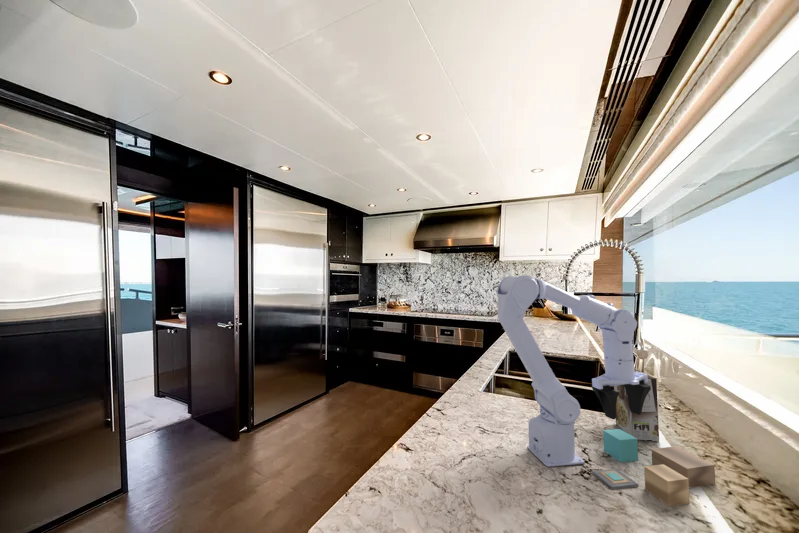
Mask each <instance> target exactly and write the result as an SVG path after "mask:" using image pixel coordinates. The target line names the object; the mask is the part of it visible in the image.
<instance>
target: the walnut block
mask: <svg viewBox="0 0 799 533" xmlns="http://www.w3.org/2000/svg"><path fill="white" fill-rule="evenodd" d="M661 464H664V465H666V466H667V467H669V468H671V469H672V470H674V471H676V472H677V473H679V474H681V475H683V476H684V477H686V478H688V481H689V489H690V488H697V487H702V486H708V485H709V486H710V485H714V484H715V485H716V473H715V472H716V468H715V467H716V466H715V464H714V463H712V462H710V461H708V460H706V459H704V458H702V457H700V456H698V455H695V454H693V453H692V452H690V451H687V450H685V449H683V448H681V447H679V446H677V445H674V446H667V447H657V448H652V449H651V466H652V465H661Z"/></svg>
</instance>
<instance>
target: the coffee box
mask: <svg viewBox="0 0 799 533" xmlns="http://www.w3.org/2000/svg"><path fill="white" fill-rule="evenodd" d="M634 372H641V373H644V372H642V371H641V370H639V369H635V368H634ZM647 375H648V382H646V383H645V382H644V383H645V384H648V385H650V386H651V390H650V391H649V393H648V394H647V396H646V398H645V401H644V404H643V408H642V412H641V415H638V414H636V413H633V412H631V411H630V408H629V402H628V396H627V392H626V389H625V387H624V385H617V386H613V390H614V391H616V392H619V395H618V398H617V402H616V418H615V425H616V424H617V427H619V429H621V430H623V431H624V432H626V433H628V434H630V435H632V436H633V437H635V438H637V441H639V440H641V441H647V440H652V441H651V442H655V441H659V442H660V431H659V430H660V429H659V426H660V425H659V409H658V408H659V407H658V406H659V405H658V403H659V402H658V385H657V382H658V380H657V378H655V377H654V376H651V375H649V374H647Z"/></svg>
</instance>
